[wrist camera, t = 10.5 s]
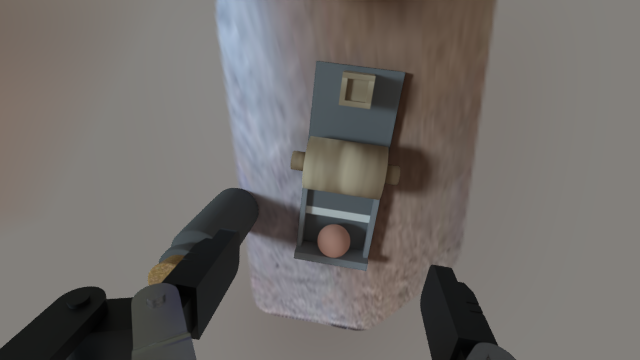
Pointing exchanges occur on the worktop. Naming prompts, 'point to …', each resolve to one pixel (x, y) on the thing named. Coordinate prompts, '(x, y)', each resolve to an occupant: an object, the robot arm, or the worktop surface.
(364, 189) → the maple rolling pin
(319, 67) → the grey long tray
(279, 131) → the worktop surface
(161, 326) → the robot arm
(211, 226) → the bottle
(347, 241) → the ball
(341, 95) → the light wooden block
